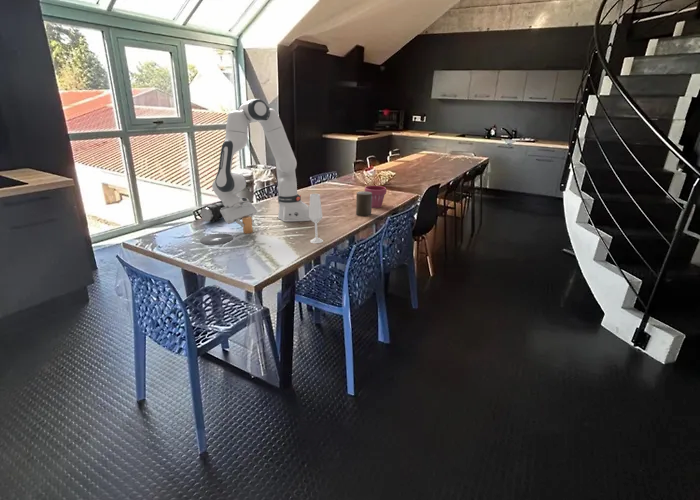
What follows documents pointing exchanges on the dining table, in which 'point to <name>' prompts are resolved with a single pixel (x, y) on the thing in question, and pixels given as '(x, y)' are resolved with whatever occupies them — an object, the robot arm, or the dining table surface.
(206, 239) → the slate plate
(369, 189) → the plant pot
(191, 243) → the dining table surface
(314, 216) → the champagne flute
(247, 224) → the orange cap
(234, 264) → the dining table surface
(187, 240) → the dining table surface
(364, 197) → the pillar candle
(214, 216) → the muzzle brake
